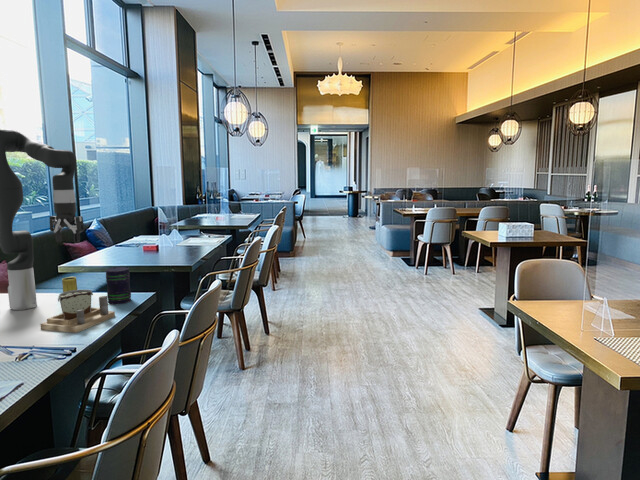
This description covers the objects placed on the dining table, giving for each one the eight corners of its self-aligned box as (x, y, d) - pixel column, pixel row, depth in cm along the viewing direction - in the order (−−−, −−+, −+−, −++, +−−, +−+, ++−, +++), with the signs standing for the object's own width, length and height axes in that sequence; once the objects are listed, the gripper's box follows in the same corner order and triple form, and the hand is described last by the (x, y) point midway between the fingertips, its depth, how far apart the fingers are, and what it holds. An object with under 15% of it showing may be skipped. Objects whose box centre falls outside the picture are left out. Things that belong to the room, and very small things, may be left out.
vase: (83, 309, 192) (80, 276, 189) (74, 314, 185) (71, 280, 183) (69, 309, 192) (67, 276, 190) (60, 313, 186) (57, 279, 184)
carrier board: (40, 329, 167) (38, 305, 166) (82, 313, 186) (80, 292, 185) (76, 332, 163) (74, 308, 162) (114, 316, 182) (113, 294, 181)
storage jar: (135, 301, 204) (133, 268, 202) (113, 305, 197) (111, 272, 195) (125, 297, 211) (123, 265, 208) (103, 301, 203) (101, 269, 201)
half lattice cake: (88, 311, 182) (86, 287, 180) (94, 314, 178) (92, 290, 176) (54, 319, 173) (52, 293, 171) (60, 322, 169) (58, 296, 167)
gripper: (41, 201, 175) (45, 243, 178) (72, 202, 172) (75, 244, 174) (57, 200, 183) (61, 240, 185) (86, 201, 179) (90, 241, 181)
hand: (68, 242), depth 179 cm, fingers open, 8 cm apart
